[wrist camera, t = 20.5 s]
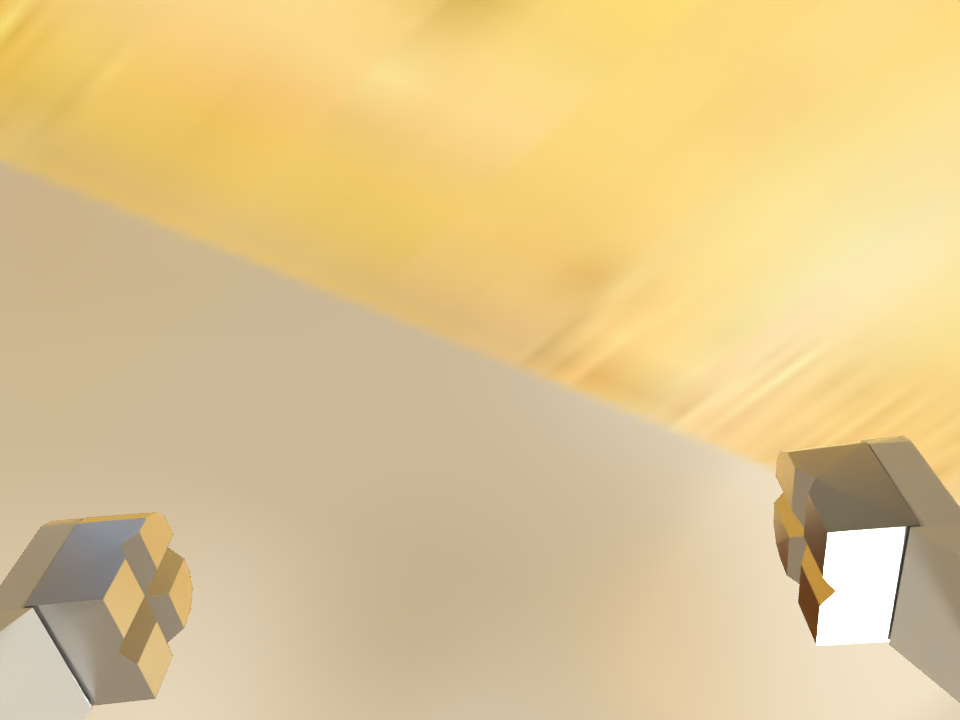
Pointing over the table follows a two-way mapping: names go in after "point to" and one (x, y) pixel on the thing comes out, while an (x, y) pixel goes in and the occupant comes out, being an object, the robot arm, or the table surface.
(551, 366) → the table surface
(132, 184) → the table surface
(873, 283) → the table surface
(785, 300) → the table surface
